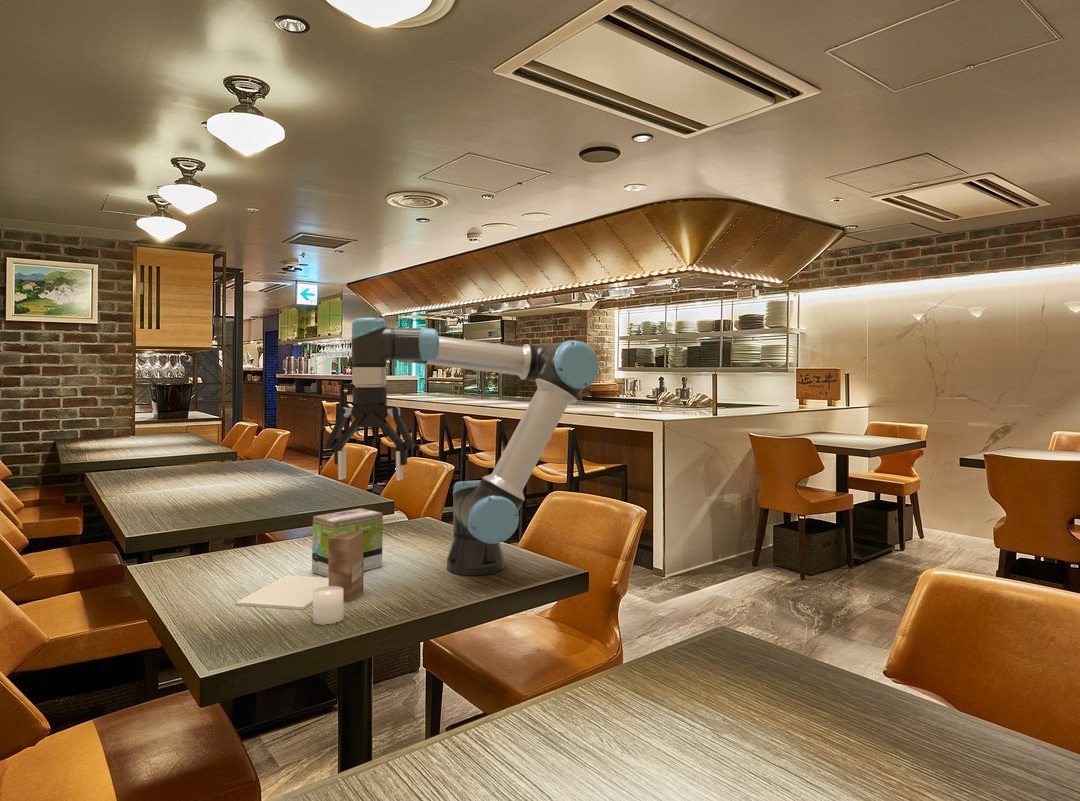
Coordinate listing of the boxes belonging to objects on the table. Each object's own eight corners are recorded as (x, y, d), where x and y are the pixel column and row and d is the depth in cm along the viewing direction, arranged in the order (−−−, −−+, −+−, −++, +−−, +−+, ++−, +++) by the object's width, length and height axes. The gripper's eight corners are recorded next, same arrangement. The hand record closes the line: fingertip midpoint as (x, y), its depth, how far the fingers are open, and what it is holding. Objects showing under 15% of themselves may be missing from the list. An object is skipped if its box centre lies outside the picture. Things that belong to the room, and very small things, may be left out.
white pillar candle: (348, 615, 136) (348, 586, 136) (334, 625, 130) (334, 596, 130) (322, 613, 137) (322, 585, 137) (307, 623, 131) (307, 594, 131)
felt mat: (346, 581, 159) (346, 578, 159) (303, 609, 139) (302, 607, 139) (286, 577, 162) (286, 575, 162) (235, 605, 142) (235, 602, 142)
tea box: (335, 580, 159) (334, 521, 159) (311, 573, 166) (310, 515, 165) (383, 566, 171) (383, 511, 171) (359, 560, 177) (359, 506, 177)
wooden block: (364, 591, 151) (363, 532, 151) (350, 601, 144) (349, 539, 144) (343, 590, 152) (343, 531, 152) (328, 600, 145) (328, 538, 145)
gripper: (427, 385, 150) (428, 477, 151) (324, 386, 153) (325, 476, 153) (418, 386, 143) (419, 482, 143) (309, 386, 145) (311, 481, 146)
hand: (371, 479), depth 148 cm, fingers open, 13 cm apart
